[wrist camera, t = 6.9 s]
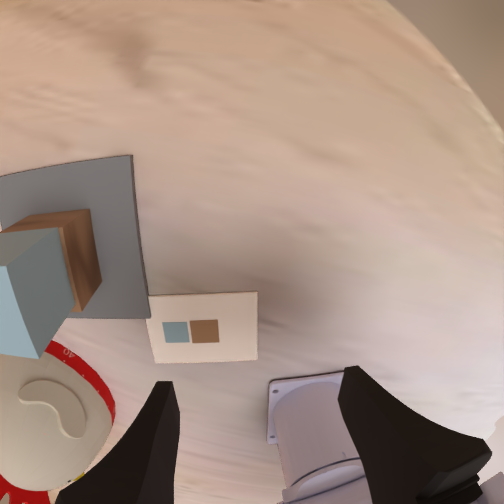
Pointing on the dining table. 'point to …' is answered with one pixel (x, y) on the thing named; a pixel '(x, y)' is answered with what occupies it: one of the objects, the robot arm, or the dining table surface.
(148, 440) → the robot arm
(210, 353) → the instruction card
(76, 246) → the walnut block
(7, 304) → the blue brick
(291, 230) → the dining table surface
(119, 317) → the slate mat
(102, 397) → the kitchen timer
